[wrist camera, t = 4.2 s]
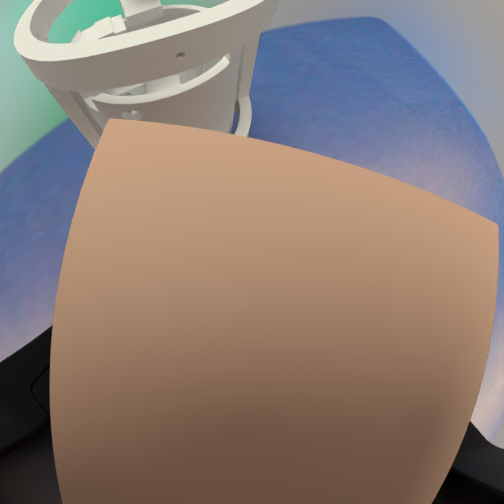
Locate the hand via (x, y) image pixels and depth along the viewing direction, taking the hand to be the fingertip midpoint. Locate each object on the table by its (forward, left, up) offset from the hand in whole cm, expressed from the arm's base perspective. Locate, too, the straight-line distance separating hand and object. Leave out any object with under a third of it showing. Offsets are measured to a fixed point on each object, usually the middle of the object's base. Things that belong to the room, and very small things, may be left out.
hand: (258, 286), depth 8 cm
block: (-1, 0, -7) cm, 7 cm away
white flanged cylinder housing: (+6, +6, -10) cm, 13 cm away
